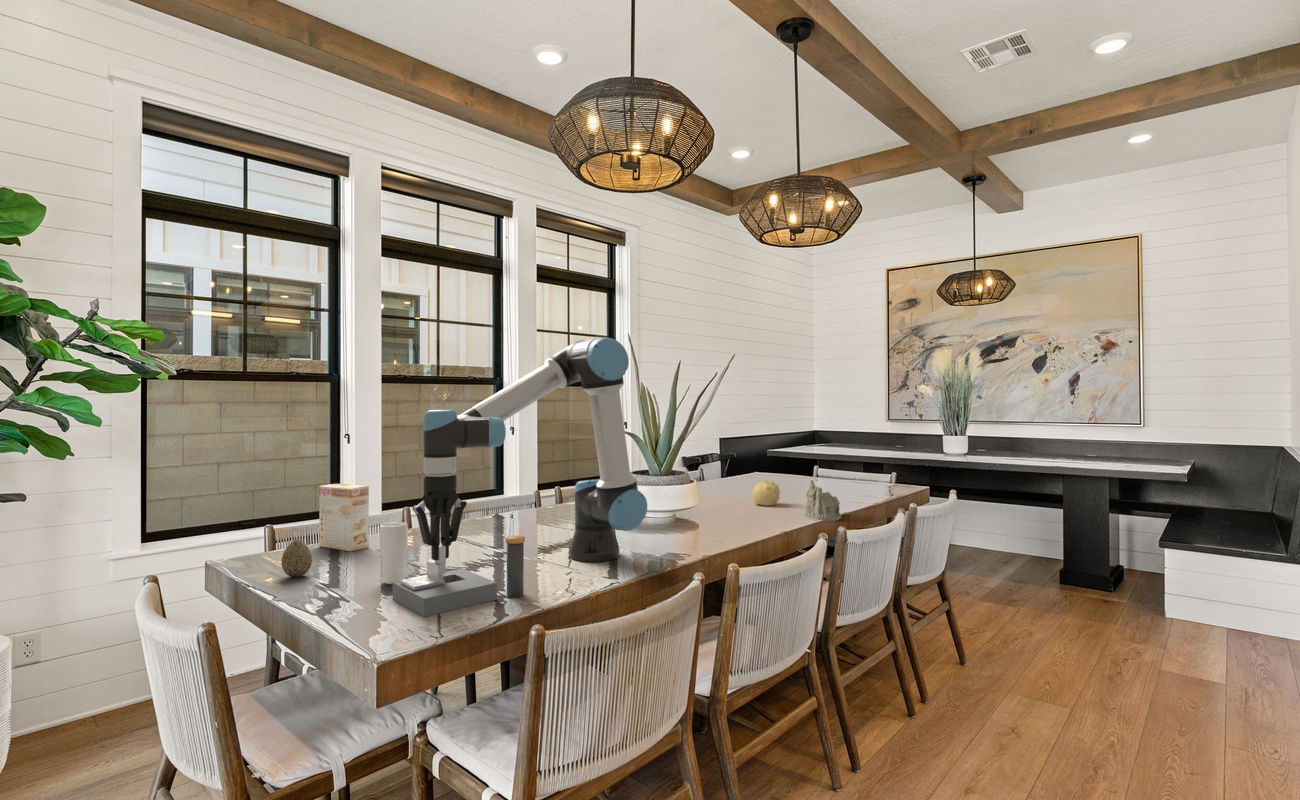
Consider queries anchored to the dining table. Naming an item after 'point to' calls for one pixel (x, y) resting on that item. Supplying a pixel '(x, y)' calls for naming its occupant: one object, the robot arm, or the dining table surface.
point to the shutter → (426, 577)
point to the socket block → (447, 593)
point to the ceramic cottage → (821, 504)
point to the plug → (515, 566)
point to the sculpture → (766, 493)
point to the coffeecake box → (344, 516)
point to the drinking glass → (393, 550)
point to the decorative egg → (296, 559)
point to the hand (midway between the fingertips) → (440, 572)
